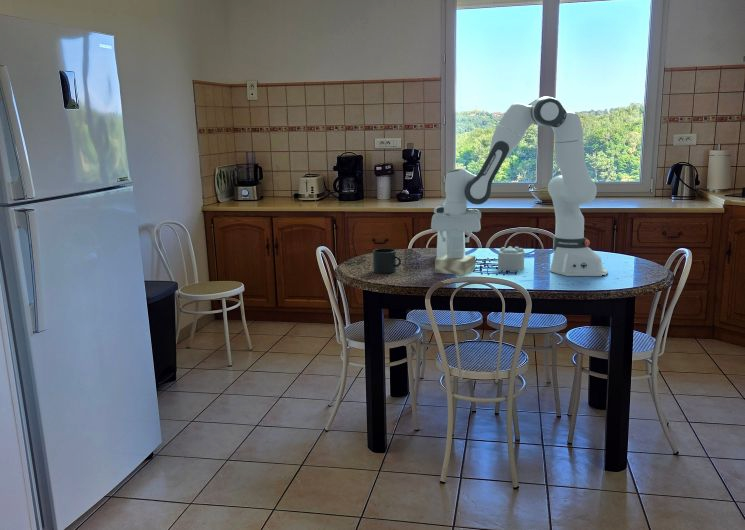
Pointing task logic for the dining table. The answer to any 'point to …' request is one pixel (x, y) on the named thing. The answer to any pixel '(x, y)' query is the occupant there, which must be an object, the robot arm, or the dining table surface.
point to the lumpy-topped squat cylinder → (511, 258)
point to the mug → (385, 261)
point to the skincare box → (455, 244)
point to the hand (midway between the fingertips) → (455, 241)
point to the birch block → (455, 265)
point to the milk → (443, 244)
